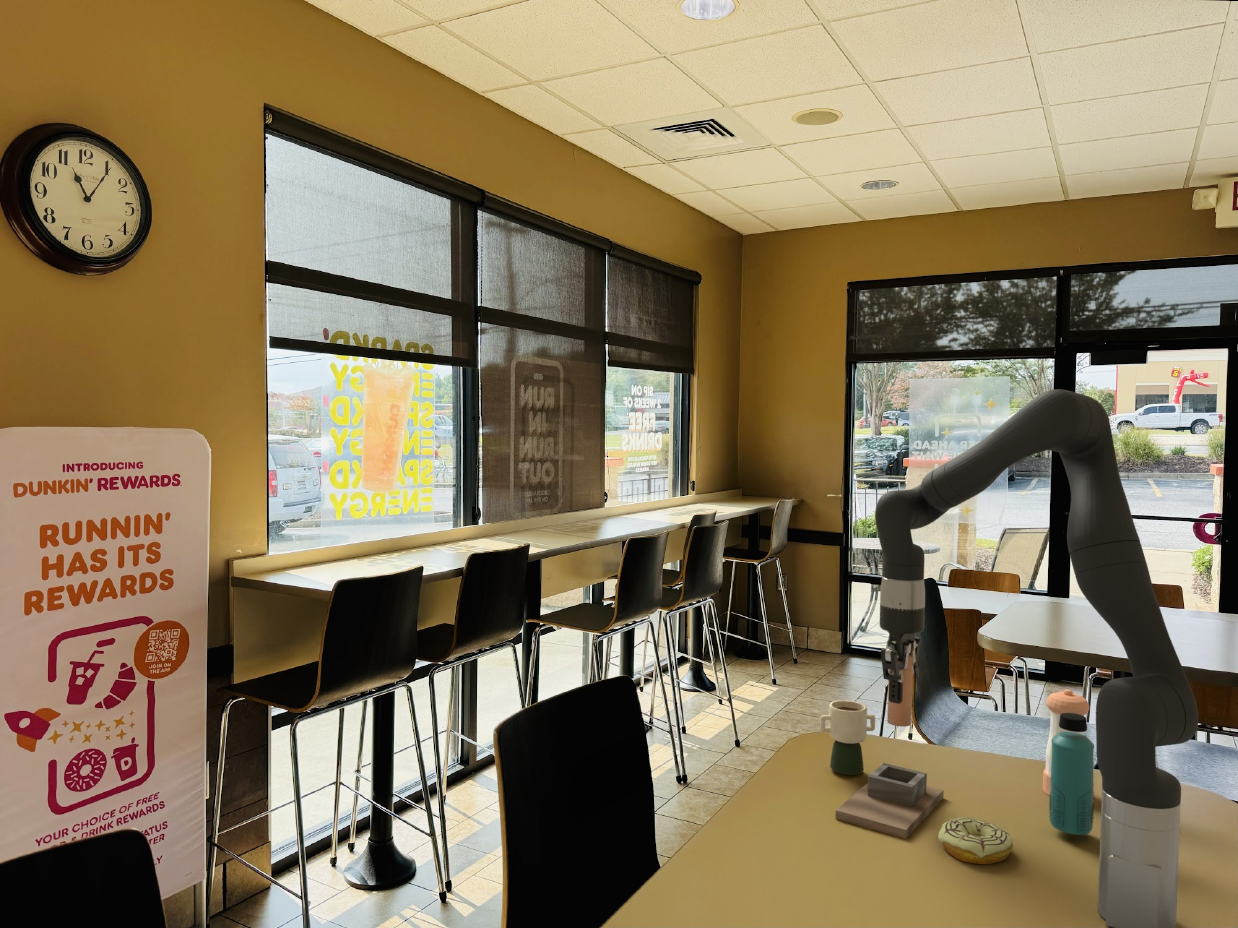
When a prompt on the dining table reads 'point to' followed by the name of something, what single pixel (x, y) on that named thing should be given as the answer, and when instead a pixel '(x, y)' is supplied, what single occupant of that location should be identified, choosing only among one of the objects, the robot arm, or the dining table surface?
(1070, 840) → the dining table surface
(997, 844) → the decorated donut
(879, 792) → the holder
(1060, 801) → the beverage bottle
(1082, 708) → the pepper shaker
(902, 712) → the peg
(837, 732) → the character mug
